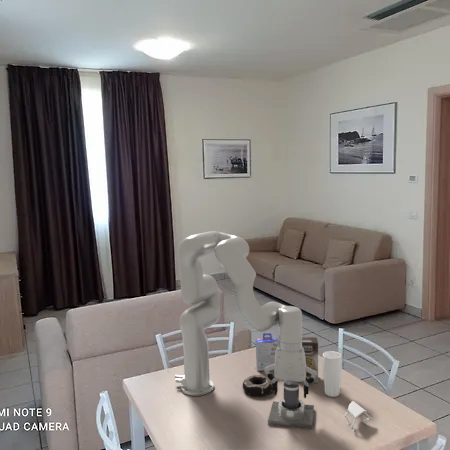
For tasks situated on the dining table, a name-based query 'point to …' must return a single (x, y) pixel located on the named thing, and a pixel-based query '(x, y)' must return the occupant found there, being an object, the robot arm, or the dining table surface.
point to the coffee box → (311, 354)
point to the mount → (291, 415)
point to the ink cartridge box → (265, 351)
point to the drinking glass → (332, 372)
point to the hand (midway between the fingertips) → (290, 394)
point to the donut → (257, 385)
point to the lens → (291, 394)
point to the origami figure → (356, 412)
